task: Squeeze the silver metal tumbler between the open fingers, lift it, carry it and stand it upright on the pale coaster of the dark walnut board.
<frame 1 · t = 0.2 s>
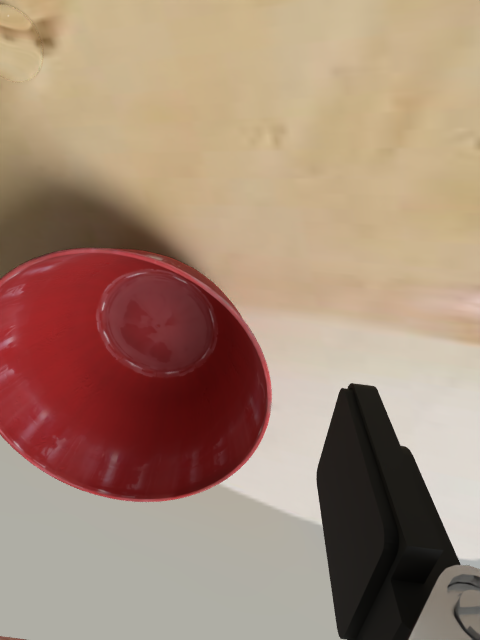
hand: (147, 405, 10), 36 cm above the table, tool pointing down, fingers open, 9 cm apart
silver metal tumbler: (12, 45, 38), on the table
mixing bowl: (158, 321, 50), on the table
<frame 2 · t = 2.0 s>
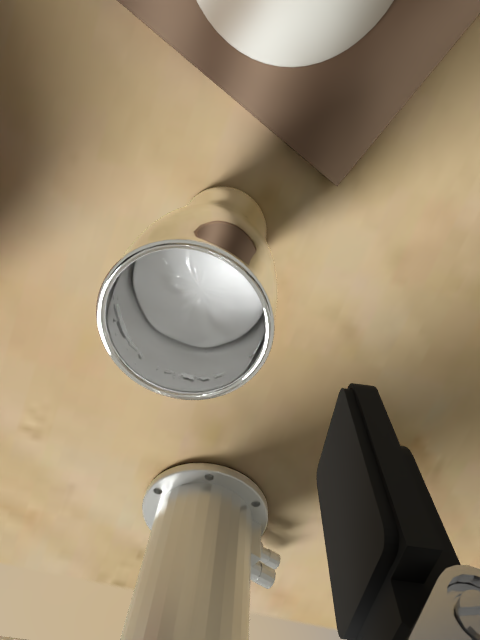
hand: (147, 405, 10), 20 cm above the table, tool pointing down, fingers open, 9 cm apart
silver metal tumbler: (223, 230, 28), on the table
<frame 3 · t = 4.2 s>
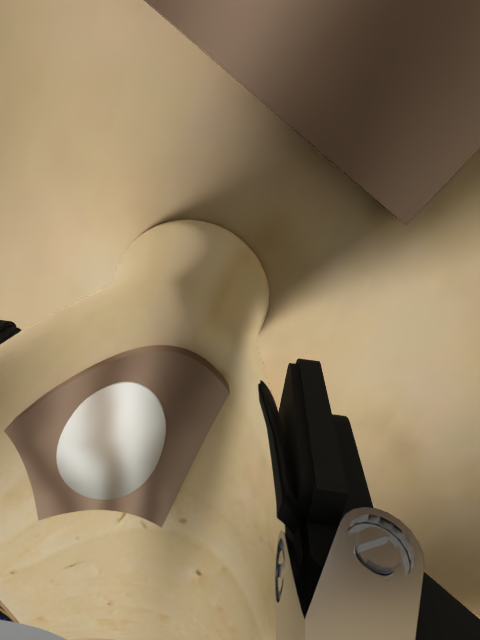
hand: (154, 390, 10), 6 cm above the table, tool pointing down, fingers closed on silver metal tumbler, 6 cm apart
silver metal tumbler: (193, 293, 16), on the table, touching gripper
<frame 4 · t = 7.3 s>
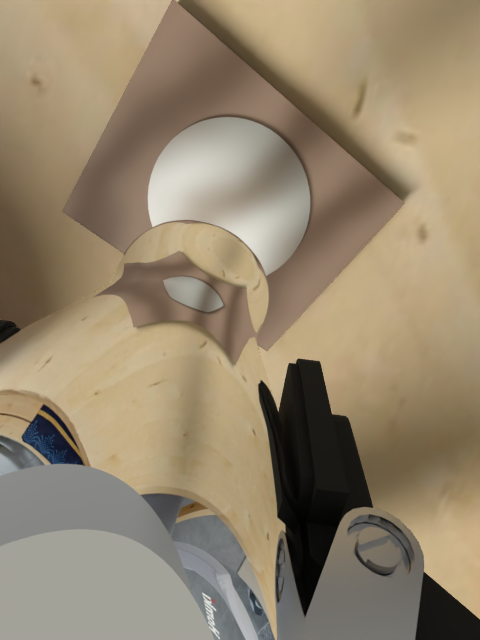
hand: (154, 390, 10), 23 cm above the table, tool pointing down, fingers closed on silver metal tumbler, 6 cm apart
silver metal tumbler: (193, 292, 16), point 17 cm above the table, touching gripper
walnut board: (229, 204, 30), on the table
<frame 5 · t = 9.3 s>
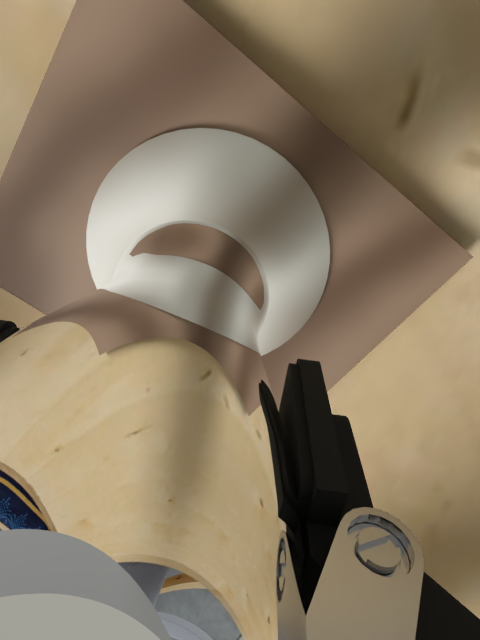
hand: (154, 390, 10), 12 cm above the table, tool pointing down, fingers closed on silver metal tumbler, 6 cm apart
silver metal tumbler: (193, 292, 16), point 5 cm above the table, touching gripper
walnut board: (210, 253, 21), on the table
when the fingers open (9 cm above the table, at t = 10.9 s): silver metal tumbler drops 1 cm, resting on walnut board.
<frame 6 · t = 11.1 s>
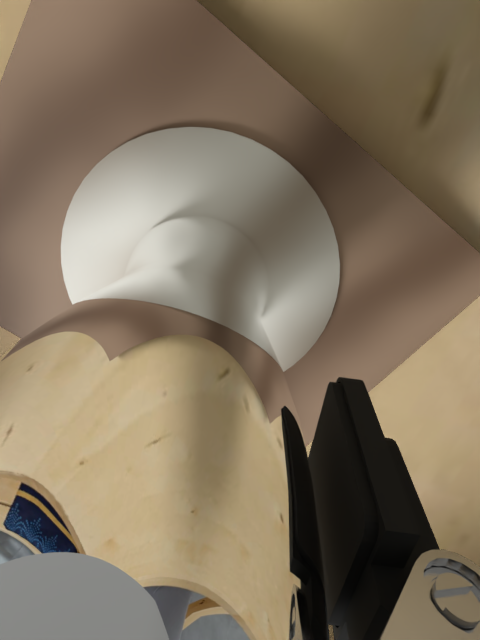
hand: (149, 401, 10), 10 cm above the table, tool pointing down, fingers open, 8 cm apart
silver metal tumbler: (199, 283, 17), point 1 cm above the table, touching walnut board
walnut board: (203, 269, 18), on the table
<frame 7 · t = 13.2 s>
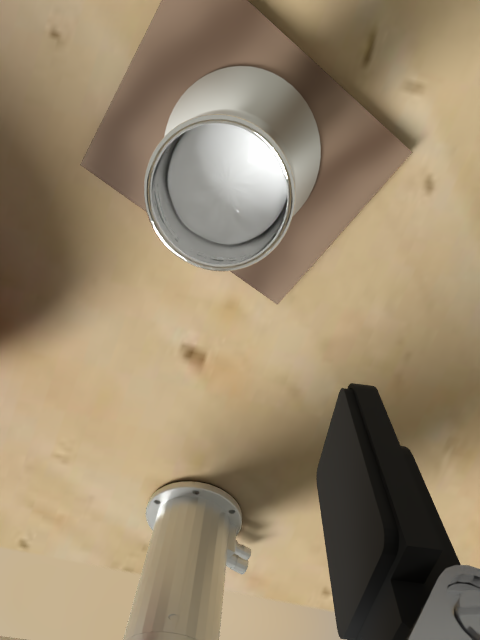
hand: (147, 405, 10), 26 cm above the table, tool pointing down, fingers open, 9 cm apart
silver metal tumbler: (241, 161, 30), point 1 cm above the table, touching walnut board
walnut board: (242, 157, 31), on the table
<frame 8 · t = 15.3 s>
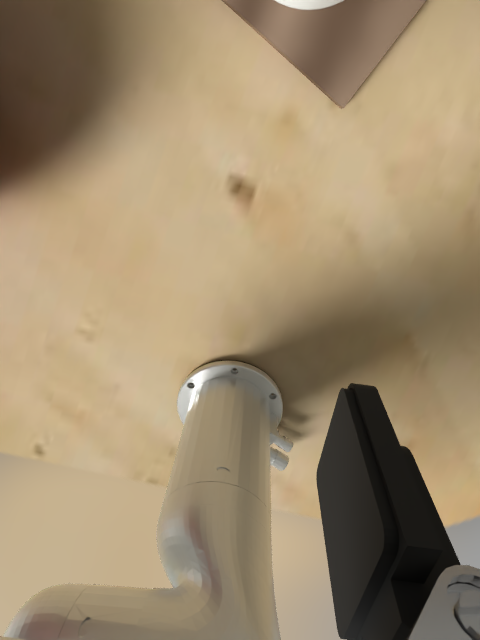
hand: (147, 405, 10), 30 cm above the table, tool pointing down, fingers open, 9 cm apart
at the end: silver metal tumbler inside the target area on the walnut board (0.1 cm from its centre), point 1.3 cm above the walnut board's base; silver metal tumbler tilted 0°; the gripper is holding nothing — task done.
